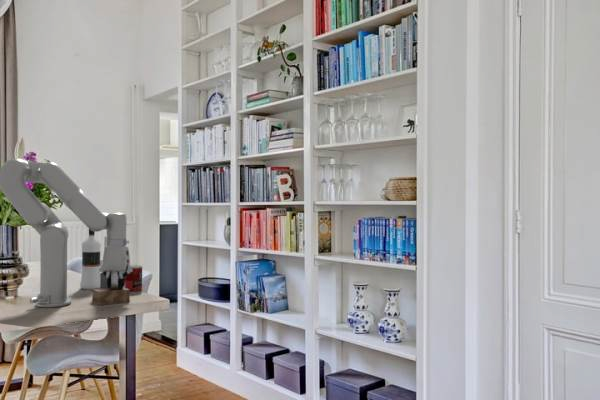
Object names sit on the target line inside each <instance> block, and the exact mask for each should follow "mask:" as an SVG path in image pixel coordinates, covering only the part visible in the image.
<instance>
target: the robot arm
mask: <svg viewBox="0 0 600 400" xmlns="http://www.w3.org/2000/svg"><path fill="white" fill-rule="evenodd" d="M26 183H32V184H34V183H35V184H44V185H45V186H46V187H47V188H48V189H49V190H50V191H51V192H52V193H53V194H54V195H55V196H56V197H57V199H59V200H60V201H61V203H63V204H64V206H65V207H67V208H68V209H69V210H70V211H71V212H72V213H73V214H74V215H75V216H76V217H77V218H78V219H79V220H80V221H81V222H82V223H83V224H84V225H85V226H86V228H88V230H89V229H90V230H92V231H95V233H97V232H101V231H103V230H105V231H106V236H107V246H105V249H104V248H103V249H104V250H103V255H102V264H101V265H100V266H101V268H100V269H99V271H100V273H103V274H104V275H105V276H106V278H107V286H108V288H111V271H113V270H114V271H119V274H120V279H119V289H121V288H123V287H124V280H125V277H126V276H127V275H128V274H129V273H131V272H132V271H133V270H132V268H131V266H130V265H131V259H130V258H131V255H130V250H129V246H127V245H129V243H130V240H128V239H127V215H126V213H123V212H110V213H107V212H101V211H100V210H99V209H98V208H97V207H96V206H95V205H94V204H93V203H92V202H91V200H90V199H89V198H88V197H87V196H86V194H85V193H84V191H83V190H82V189H81V188H80V187H79V186H78V185H77V184H76V183H75V182H74V180H72V179H71V177H70V176H69V175H68V174H67V172H65V171H64V170H63V169H62V168H61V167H60V166H59V165H58V164H57V163H55V162H52V161H48V162H37V161H29V160H24V159H21V158H16V157H15V158H14V157H13V158H10V159H8V160H7V161H5V162H4V163H3V165H2V166H1V168H0V190H1V192H2V194H3V196H5V198H6V199H7V200H8V202H10V204H11V205H12V207H13V208H14V209H15V210H16V212H18V214H19V215H20V216H21V218H22V219H23V220H24V221H25V223H26V224H27V225H29V226H31V227H32V228H33V229H34V230H35V231H36V232H37V233H38V234H39V236H40V237H39V246H40V248H39V249H40V250H39V251H40V263H39V264H40V276H39V277H40V278H39V279H40V280H39V281H40V283H39V284H40V286H39V292H40V293H39V294H37V296H36V297H31V298H30V299H29V303H30V304H35V306H36V307H38V308H39V307H40V308H57V307H64V306H68V305H70V304H71V303H72V300H71V299H70V298H69V299H68V298H67V297H68V295H67V294H68V239H69V230H68V229H67V227H66V226H65V224H64V223H63V222H62V221H61V219H59V217H58V216H57V215H56V213H54V211H53V210H52V208H50V207H49V206H48V205H47V204H46V203H44V202H41V200H39V198H38V197H37V196H36V195H35V194H34V193H33V191H32V190H31V189H30V188H29V186H28V185H27V184H26ZM125 270H128V271H126V272H125Z"/></svg>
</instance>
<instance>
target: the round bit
mask: <svg viewBox="0 0 600 400" xmlns="http://www.w3.org/2000/svg"><path fill="white" fill-rule="evenodd" d="M119 279H120V274H119V271H114V270H113V271H111V290H121V289H119Z"/></svg>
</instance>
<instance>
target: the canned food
mask: <svg viewBox="0 0 600 400" xmlns="http://www.w3.org/2000/svg"><path fill="white" fill-rule="evenodd" d="M130 266H131V268H132V270H133V271H132V272H131V273H129V274H128V275H127V276H126V277H125V280H124V288H127V289H130V292H139V291H142V289H143V266H142V265H137V264H130ZM126 271H128V270H125V272H126Z"/></svg>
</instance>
